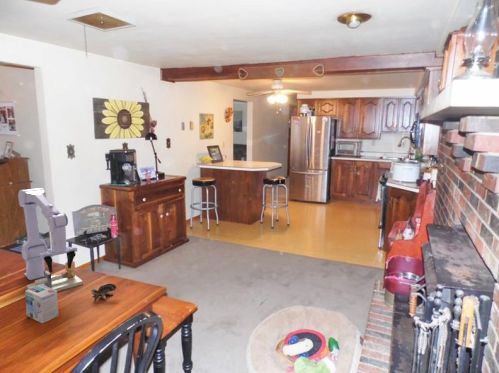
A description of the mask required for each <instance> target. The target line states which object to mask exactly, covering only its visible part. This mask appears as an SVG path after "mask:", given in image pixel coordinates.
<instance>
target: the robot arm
mask: <svg viewBox="0 0 499 373" xmlns="http://www.w3.org/2000/svg"><path fill="white" fill-rule="evenodd" d="M17 195H18V196H17V197H18V204H19V206H20V207H22V209H23V214H24V219H25V220H24V221H25V228H26V235H27V240H26V241H25V242H24V243H23V244H22V246H21V257H22V259H23V260H24V261H25V270H26V272H25V273H24V274H23V275H25V277H26V278H27V279H28V281H32V280H37V279H41V278H44V271H45V269H46V268H45V264H46V265H47V270H48V272H49V273H50V274H52V273H53V259H52V257H54V256H55V257H56V256H59V255H64V254H66V259H67V261H66V262H67V265H68V268H71V264H72V261H74V259H75V257H76V252H78V246H76V245H75V246H68V247H67V237H66V236H67V233H66V232H67V230H66V229H67V228H66V227H67V226H68V225H69V218H68V216H67V214H66V213H64V212H60V211H59V209H57V207H56V206H55V205H54V204H50V203H49V200H47V198H46V190H45V189H44V188H43V187H39V188H38V187H37V188H28V189H20V190H19V191H18V194H17ZM37 206H38V207H39V208H40V209H41V214H42V215H43V216H44V218H45V219H46V220H47V225H48V228H49V232H50V240H51V244H50V245H51V249H50V250H49V249H48V246H47V243H46V240H44V239H42V238H40V231H39V230H40V229H39V223H38V222H39V221H38V216H37V209H36V208H37Z"/></svg>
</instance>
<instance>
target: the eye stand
mask: <svg viewBox="0 0 499 373" xmlns="http://www.w3.org/2000/svg"><path fill="white" fill-rule="evenodd" d="M51 276H52V273H50V272H49V270H48V269H46V270H45V271H44V277H43V278H47V279H48V283H45V284H41V285H44V286H46V287H49V288H51V289H54V290H56V291H57V292H60V291H64V290H66V289H69V288H75V287H77V286H81V285H83V283H84V282H83V280H82V279H81V278H80V277H78V276H77V275H76V274H75V277H74V278H72V279H67V278H64V279H60V280H56V281H52V280H51ZM37 286H39V285H37ZM34 287H36V285H35V282H34V283H30V284H27V285H26V290H29V289H31V288H34Z"/></svg>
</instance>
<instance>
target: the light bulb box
mask: <svg viewBox="0 0 499 373" xmlns="http://www.w3.org/2000/svg"><path fill="white" fill-rule="evenodd" d="M24 294H25V309H26V311H25V312H26V317H29V318H30V319H32V320H35V321H36V322H38V323H41V324H44V323H46V322H48V321H51V320H53V319H56V318H57V317H59V302H58V301H59V299H58V291H56V290H54V289H51V288H49V287H46V286H44V285H39V286H36V287H34V288H31V289H29V290H28V289H26V290H24Z"/></svg>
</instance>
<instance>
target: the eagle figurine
mask: <svg viewBox="0 0 499 373" xmlns="http://www.w3.org/2000/svg"><path fill="white" fill-rule="evenodd" d="M116 289H117V286H116V285H115V284H114V283H107V284H104V285H100V286H99V288H98V290H96V289H94V288H93V289H90V292H91V294H92V296H91V297H92V298H93V299H94V301H93V302H96V301H97V300H98V299H99V297H100V298H102V299H103V300H105V301H107V297H106V295H110V296H114V293H111V292H114V291H116Z"/></svg>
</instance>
